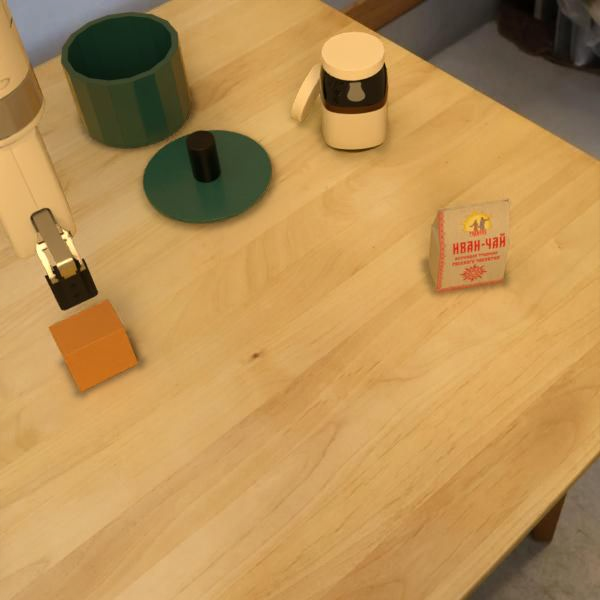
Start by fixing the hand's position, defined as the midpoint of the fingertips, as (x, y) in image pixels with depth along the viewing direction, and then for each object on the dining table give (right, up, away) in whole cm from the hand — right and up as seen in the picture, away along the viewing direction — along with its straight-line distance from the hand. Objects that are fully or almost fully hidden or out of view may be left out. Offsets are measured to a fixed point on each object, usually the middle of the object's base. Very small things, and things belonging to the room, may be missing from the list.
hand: (58, 262), depth 71 cm
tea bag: (+37, -1, +16) cm, 40 cm away
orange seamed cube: (+1, -9, +12) cm, 15 cm away
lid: (+10, +11, +26) cm, 30 cm away
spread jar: (+25, +17, +31) cm, 43 cm away
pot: (0, +20, +35) cm, 41 cm away
